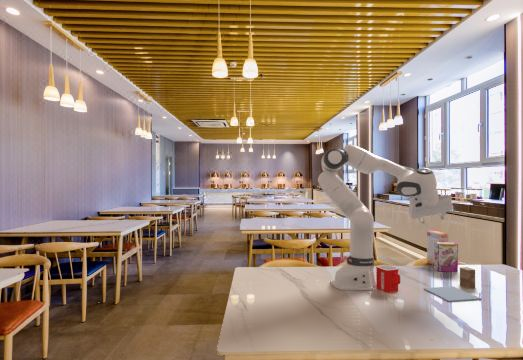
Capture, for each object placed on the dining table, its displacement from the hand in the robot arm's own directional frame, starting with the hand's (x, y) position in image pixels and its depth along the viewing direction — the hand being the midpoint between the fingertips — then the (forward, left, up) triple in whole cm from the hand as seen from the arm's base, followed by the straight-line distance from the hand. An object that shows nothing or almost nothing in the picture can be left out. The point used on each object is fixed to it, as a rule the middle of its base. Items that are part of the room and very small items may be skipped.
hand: (432, 220), depth 161 cm
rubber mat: (-4, -17, -32) cm, 36 cm away
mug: (-29, -8, -32) cm, 44 cm away
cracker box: (+26, +29, -32) cm, 50 cm away
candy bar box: (+22, +17, -32) cm, 42 cm away
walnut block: (+12, -9, -32) cm, 35 cm away
